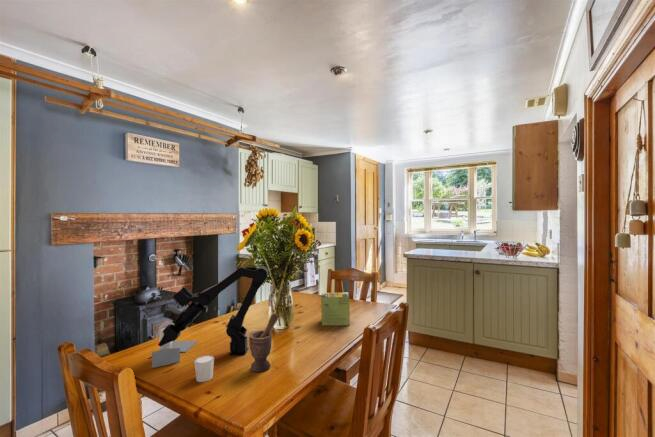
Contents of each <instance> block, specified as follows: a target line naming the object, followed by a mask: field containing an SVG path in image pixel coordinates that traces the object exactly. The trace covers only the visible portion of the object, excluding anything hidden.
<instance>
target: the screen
mask: <svg viewBox="0 0 655 437" xmlns="http://www.w3.org/2000/svg"><path fill="white" fill-rule="evenodd" d="M180 362H181V353H180V346H179V347H174V348H169V349H164V350H160V349H159V350H154V351H151V368H152V369H154V368H158V367H163V366H168V365H173V364H176V363H180Z"/></svg>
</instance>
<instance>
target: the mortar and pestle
mask: <svg viewBox="0 0 655 437" xmlns="http://www.w3.org/2000/svg"><path fill="white" fill-rule="evenodd" d="M278 319H279V315H277V314H276V313H273V314H271V316H270V318H269V320H268V323H267V325H266V327H265V330H258V331H257V330H256V331H254V332H251V333H249V334H248V337H249V338H248V339H249V340H248V341H249V350H250V354H251V356H252V358H253V359H254V361H252V363H251V364H250V371H253V372H257V373H261V372H265V371H267V370H269V369H270V368H271V364H270V360H268V359H267V358H268V356H269V355H270V353H271V350H272V337H273V334H272V332H271V330H272V329H273V327H274V326H275V324H276V323H277V321H278Z"/></svg>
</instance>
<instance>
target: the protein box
mask: <svg viewBox="0 0 655 437" xmlns="http://www.w3.org/2000/svg"><path fill="white" fill-rule="evenodd" d="M320 302H321V326H351V324H350V322H351V318H350V317H351V314H350V312H351V310H350V294H349V292H347V291H345V292H322V293H321V301H320Z"/></svg>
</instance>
